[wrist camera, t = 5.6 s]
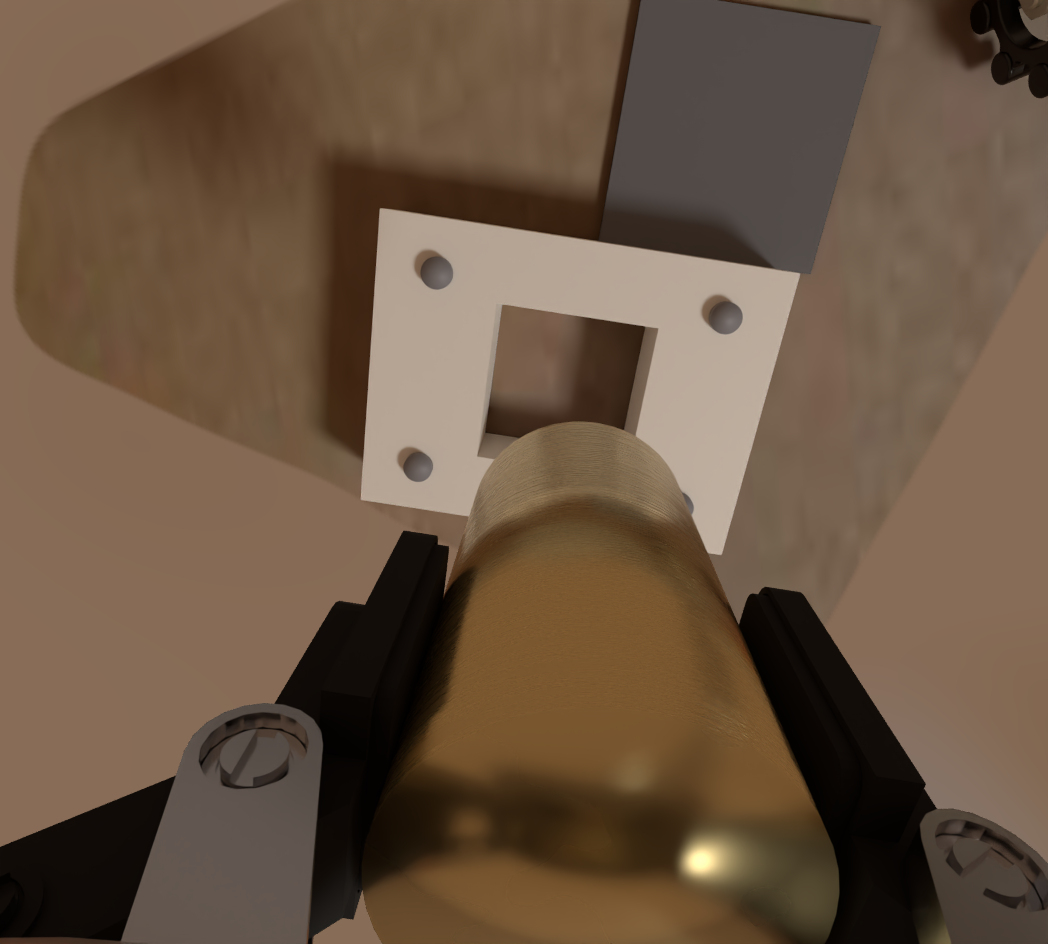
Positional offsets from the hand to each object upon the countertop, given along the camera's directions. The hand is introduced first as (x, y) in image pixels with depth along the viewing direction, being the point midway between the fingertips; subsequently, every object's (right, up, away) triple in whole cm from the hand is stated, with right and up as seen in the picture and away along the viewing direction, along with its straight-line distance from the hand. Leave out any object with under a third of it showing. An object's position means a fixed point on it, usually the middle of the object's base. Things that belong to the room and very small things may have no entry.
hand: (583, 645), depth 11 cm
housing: (+1, +7, +20) cm, 21 cm away
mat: (+7, +16, +16) cm, 24 cm away
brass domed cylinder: (0, +2, +4) cm, 5 cm away
